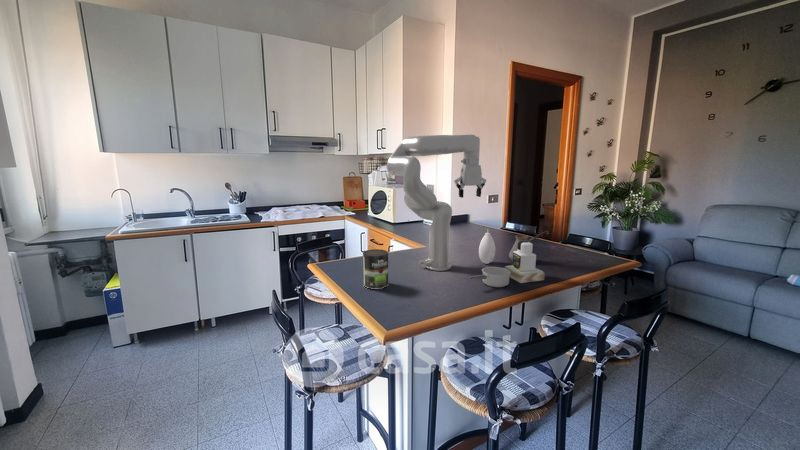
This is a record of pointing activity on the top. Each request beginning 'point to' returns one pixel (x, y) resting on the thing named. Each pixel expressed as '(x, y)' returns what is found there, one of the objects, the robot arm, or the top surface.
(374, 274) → the coffee can
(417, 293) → the top surface
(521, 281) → the plinth
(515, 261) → the medicine bottle
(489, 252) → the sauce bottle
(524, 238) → the coffee pot
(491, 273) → the saucepan
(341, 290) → the top surface
